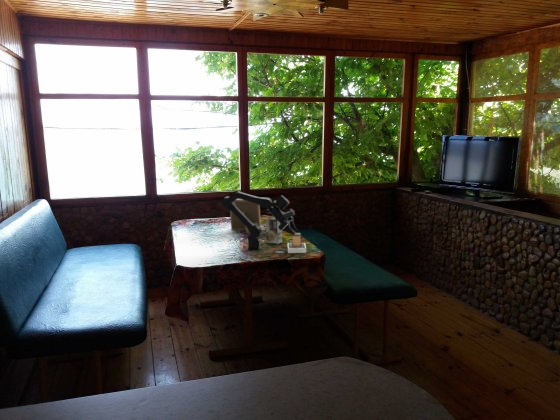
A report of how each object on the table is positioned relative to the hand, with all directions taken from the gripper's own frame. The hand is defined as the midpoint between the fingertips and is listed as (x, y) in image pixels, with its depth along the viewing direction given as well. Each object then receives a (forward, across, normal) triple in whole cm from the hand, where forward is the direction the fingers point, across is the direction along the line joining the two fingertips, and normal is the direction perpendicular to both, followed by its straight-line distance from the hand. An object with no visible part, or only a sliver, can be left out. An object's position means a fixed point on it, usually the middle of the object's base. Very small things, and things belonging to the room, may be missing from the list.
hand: (295, 232), depth 258 cm
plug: (+8, 0, +7) cm, 11 cm away
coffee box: (-4, +16, +20) cm, 27 cm away
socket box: (+8, 0, +7) cm, 11 cm away
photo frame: (-24, +44, +41) cm, 65 cm away
